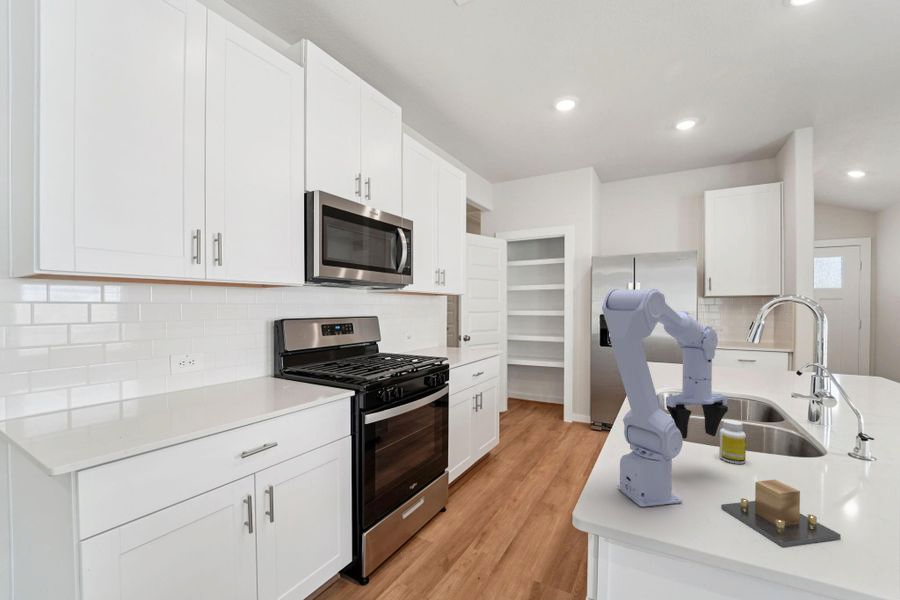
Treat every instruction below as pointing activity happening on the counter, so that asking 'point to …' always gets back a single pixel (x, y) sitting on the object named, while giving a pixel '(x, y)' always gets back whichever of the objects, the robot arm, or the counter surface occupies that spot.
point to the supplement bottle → (732, 442)
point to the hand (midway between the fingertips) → (696, 435)
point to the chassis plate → (781, 526)
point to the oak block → (777, 502)
